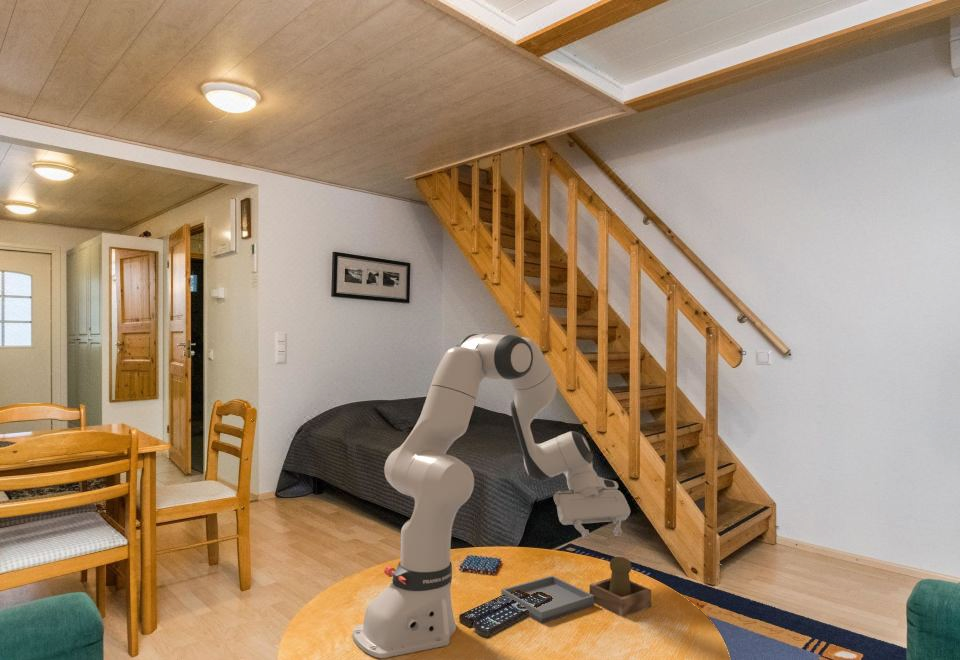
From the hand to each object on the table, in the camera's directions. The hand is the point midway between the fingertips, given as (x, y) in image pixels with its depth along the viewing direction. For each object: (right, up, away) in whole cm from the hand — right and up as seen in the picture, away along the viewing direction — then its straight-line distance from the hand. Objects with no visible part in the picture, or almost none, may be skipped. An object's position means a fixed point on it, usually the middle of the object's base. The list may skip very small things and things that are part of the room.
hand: (602, 536), depth 153 cm
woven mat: (-32, -14, +14) cm, 37 cm away
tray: (-16, -13, -9) cm, 22 cm away
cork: (+2, -14, -9) cm, 16 cm away
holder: (+2, -13, -9) cm, 16 cm away
